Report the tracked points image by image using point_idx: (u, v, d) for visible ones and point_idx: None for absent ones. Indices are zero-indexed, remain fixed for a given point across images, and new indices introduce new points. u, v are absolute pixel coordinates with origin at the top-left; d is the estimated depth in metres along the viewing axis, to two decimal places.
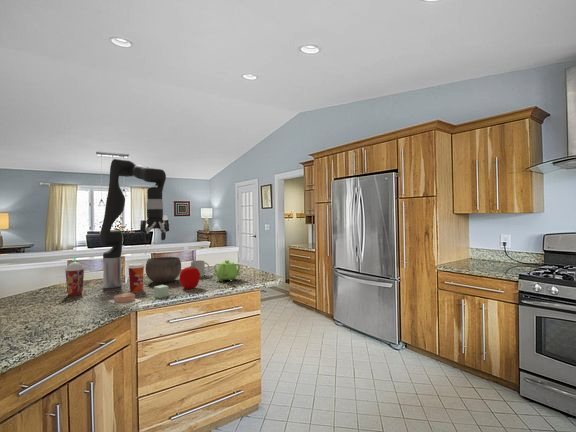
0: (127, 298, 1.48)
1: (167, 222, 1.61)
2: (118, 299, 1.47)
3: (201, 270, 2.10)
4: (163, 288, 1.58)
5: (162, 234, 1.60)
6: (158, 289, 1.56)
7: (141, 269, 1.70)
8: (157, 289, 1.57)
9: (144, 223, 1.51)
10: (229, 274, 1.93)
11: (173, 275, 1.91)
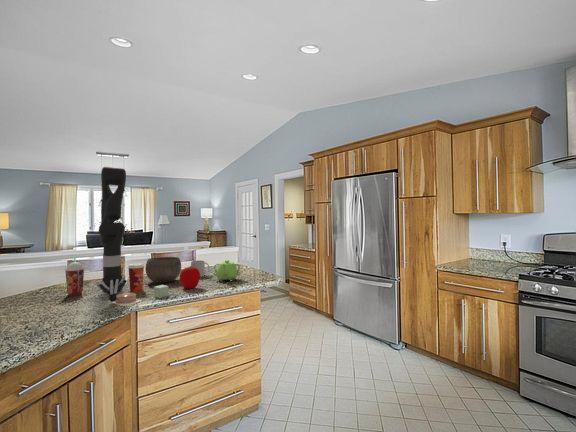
0: (128, 298, 1.49)
1: (124, 282, 1.50)
2: (119, 299, 1.47)
3: (201, 270, 2.10)
4: (163, 288, 1.58)
5: None
6: (158, 289, 1.56)
7: (141, 269, 1.70)
8: (157, 289, 1.57)
9: (102, 286, 1.42)
10: (229, 274, 1.93)
11: (173, 275, 1.91)
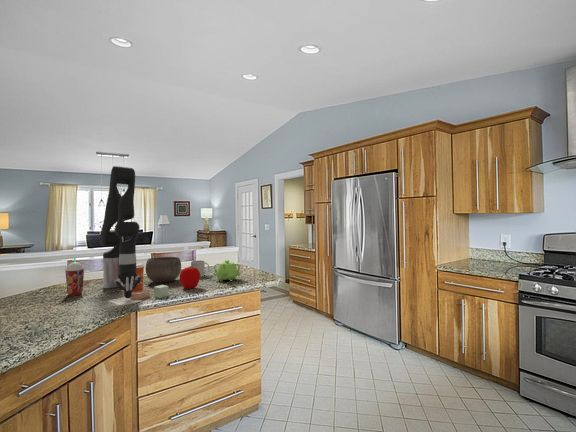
0: (143, 294, 1.54)
1: (139, 279, 1.56)
2: (134, 295, 1.53)
3: (201, 270, 2.10)
4: (163, 288, 1.58)
5: None
6: (158, 289, 1.56)
7: (141, 269, 1.70)
8: (157, 289, 1.57)
9: (118, 283, 1.48)
10: (229, 274, 1.93)
11: (173, 275, 1.91)
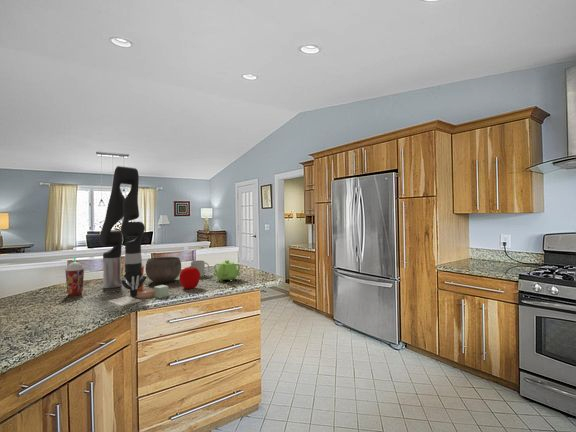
0: (149, 293, 1.57)
1: (144, 278, 1.58)
2: (140, 294, 1.55)
3: (201, 270, 2.10)
4: (163, 288, 1.58)
5: None
6: (158, 289, 1.56)
7: None
8: (157, 289, 1.57)
9: (124, 282, 1.50)
10: (229, 274, 1.93)
11: (173, 275, 1.91)
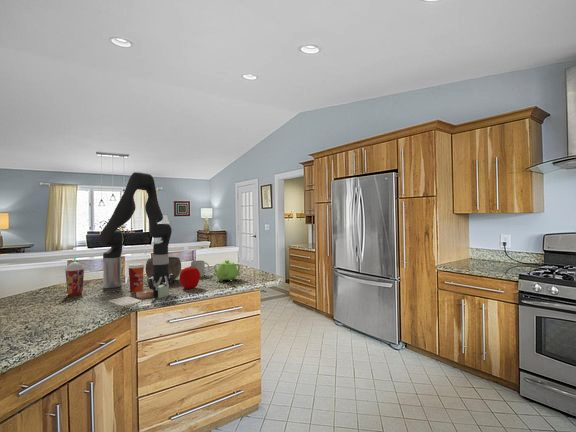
0: (149, 293, 1.57)
1: (172, 277, 1.63)
2: (140, 294, 1.55)
3: (201, 270, 2.10)
4: (163, 288, 1.58)
5: None
6: (158, 289, 1.56)
7: (141, 269, 1.70)
8: None
9: (151, 281, 1.54)
10: (229, 274, 1.93)
11: None
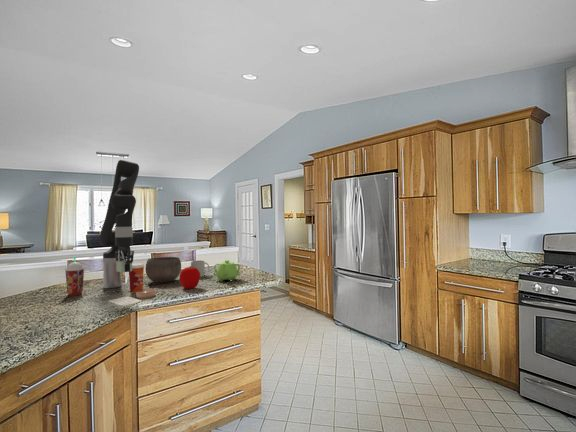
0: (148, 293, 1.57)
1: (128, 253, 1.47)
2: (140, 294, 1.55)
3: (201, 270, 2.10)
4: (118, 262, 1.49)
5: None
6: None
7: (141, 269, 1.70)
8: None
9: (115, 252, 1.54)
10: (229, 274, 1.93)
11: (173, 275, 1.91)
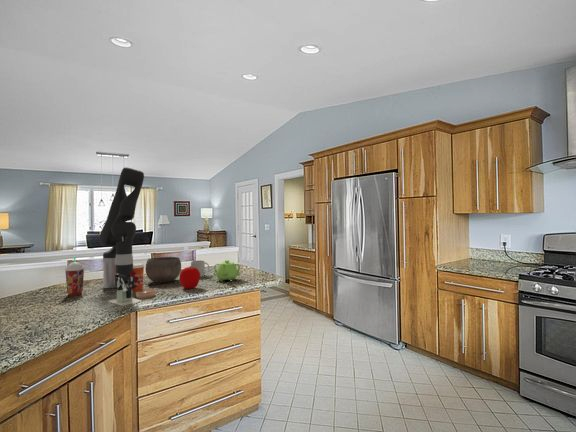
0: (148, 293, 1.57)
1: (128, 280, 1.47)
2: (140, 294, 1.55)
3: (201, 270, 2.10)
4: (118, 292, 1.49)
5: None
6: None
7: (141, 269, 1.70)
8: None
9: (115, 277, 1.54)
10: (229, 274, 1.93)
11: (173, 275, 1.91)
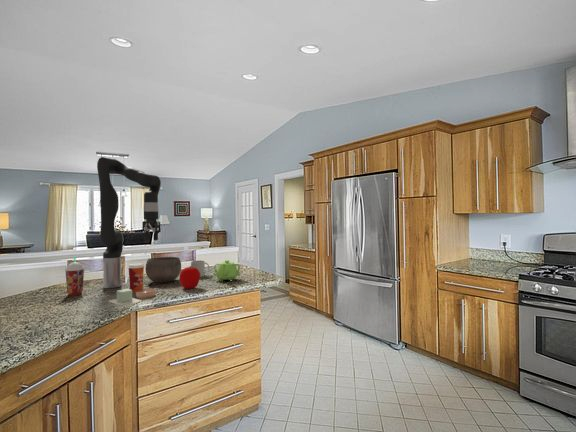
0: (148, 293, 1.56)
1: (155, 224, 1.68)
2: (140, 294, 1.55)
3: (201, 270, 2.10)
4: (118, 292, 1.49)
5: None
6: None
7: (141, 269, 1.70)
8: None
9: (143, 223, 1.76)
10: (229, 274, 1.93)
11: (173, 275, 1.91)
